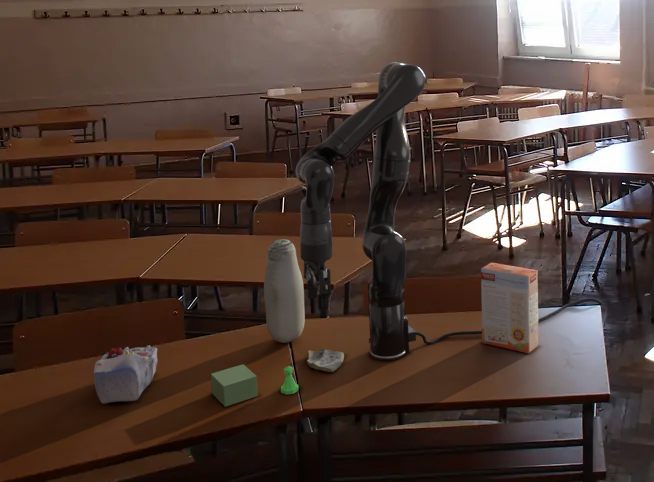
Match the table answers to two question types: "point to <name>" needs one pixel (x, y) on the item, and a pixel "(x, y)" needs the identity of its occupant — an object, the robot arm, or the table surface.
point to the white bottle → (283, 292)
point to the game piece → (289, 382)
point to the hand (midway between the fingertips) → (317, 303)
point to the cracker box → (509, 307)
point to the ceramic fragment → (325, 360)
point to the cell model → (124, 373)
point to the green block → (234, 385)
